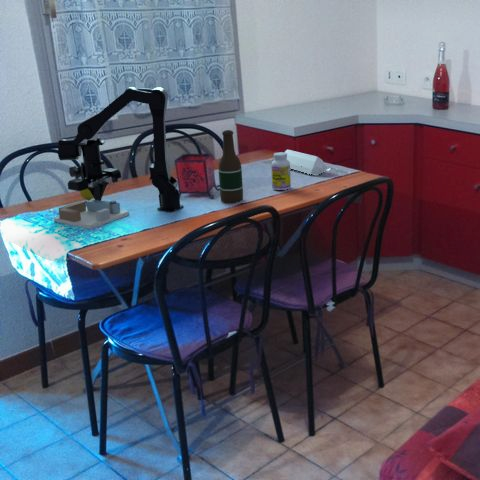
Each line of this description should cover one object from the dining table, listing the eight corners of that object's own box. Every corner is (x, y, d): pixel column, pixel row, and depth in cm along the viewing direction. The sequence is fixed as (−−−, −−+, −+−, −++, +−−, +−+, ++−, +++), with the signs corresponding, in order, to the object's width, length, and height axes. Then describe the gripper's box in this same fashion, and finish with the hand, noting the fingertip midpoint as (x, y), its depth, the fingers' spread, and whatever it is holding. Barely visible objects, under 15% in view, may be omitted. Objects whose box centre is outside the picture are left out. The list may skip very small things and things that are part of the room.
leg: (120, 211, 226) (119, 200, 224) (115, 213, 223) (113, 203, 222) (92, 208, 231) (91, 197, 230) (87, 210, 229) (85, 199, 228)
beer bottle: (216, 201, 235) (211, 131, 227) (231, 196, 241) (227, 128, 233) (232, 205, 230) (227, 133, 222) (248, 199, 235) (244, 129, 228)
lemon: (93, 203, 243) (90, 181, 240) (78, 203, 244) (75, 181, 241) (99, 198, 248) (96, 177, 245) (85, 198, 249) (82, 177, 246)
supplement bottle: (269, 190, 244) (268, 155, 240) (275, 186, 250) (274, 151, 246) (287, 191, 242) (286, 155, 238) (293, 186, 248) (292, 151, 244)
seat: (129, 214, 226) (128, 202, 225) (90, 229, 214) (88, 216, 212) (93, 207, 236) (92, 196, 235) (54, 221, 224) (52, 209, 222)
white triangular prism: (273, 158, 277) (309, 168, 257) (285, 147, 279) (322, 156, 259) (281, 172, 281) (317, 183, 261) (293, 161, 283) (330, 171, 263)
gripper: (97, 150, 237) (103, 193, 242) (53, 162, 223) (60, 208, 229) (119, 153, 230) (125, 197, 236) (75, 166, 217) (82, 213, 222)
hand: (98, 204), depth 231 cm, fingers closed
